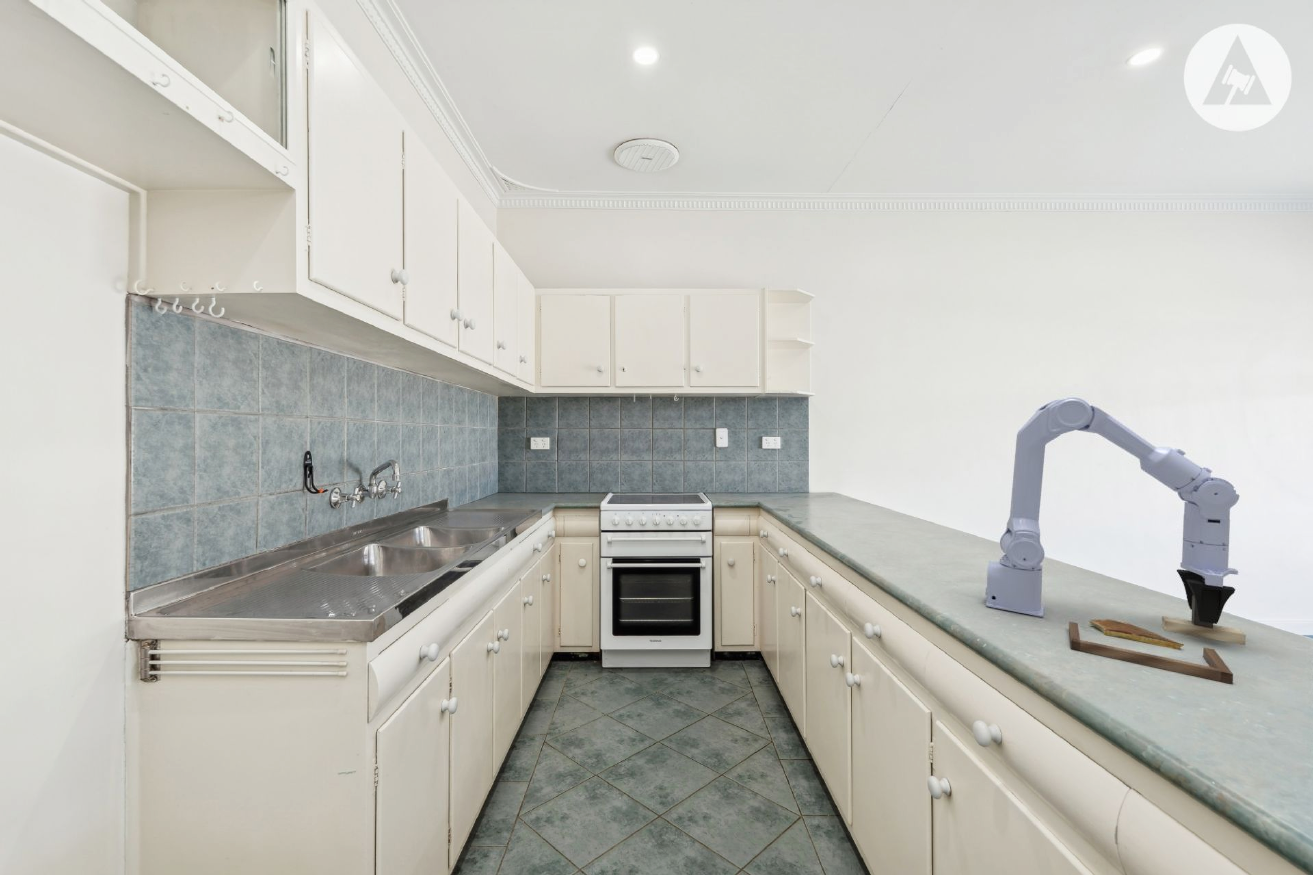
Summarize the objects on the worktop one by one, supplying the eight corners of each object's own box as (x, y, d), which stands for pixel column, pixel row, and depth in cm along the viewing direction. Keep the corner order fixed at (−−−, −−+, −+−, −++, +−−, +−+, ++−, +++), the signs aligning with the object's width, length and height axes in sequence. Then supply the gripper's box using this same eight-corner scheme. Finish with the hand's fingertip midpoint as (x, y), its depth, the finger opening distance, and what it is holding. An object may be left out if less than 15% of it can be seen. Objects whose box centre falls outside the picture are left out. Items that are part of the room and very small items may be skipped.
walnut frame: (1070, 649, 86) (1071, 640, 86) (1068, 629, 94) (1069, 621, 94) (1232, 684, 74) (1233, 674, 74) (1213, 658, 83) (1214, 649, 83)
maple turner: (1164, 631, 95) (1166, 594, 94) (1161, 626, 97) (1163, 590, 97) (1245, 646, 88) (1246, 606, 88) (1240, 640, 91) (1241, 601, 91)
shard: (1184, 653, 86) (1184, 642, 86) (1141, 654, 85) (1142, 643, 85) (1121, 628, 97) (1121, 618, 97) (1083, 628, 96) (1083, 619, 96)
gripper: (1251, 553, 84) (1248, 634, 84) (1226, 538, 96) (1224, 610, 96) (1190, 546, 88) (1187, 623, 89) (1173, 533, 100) (1171, 601, 100)
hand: (1202, 616), depth 93 cm, fingers open, 7 cm apart
